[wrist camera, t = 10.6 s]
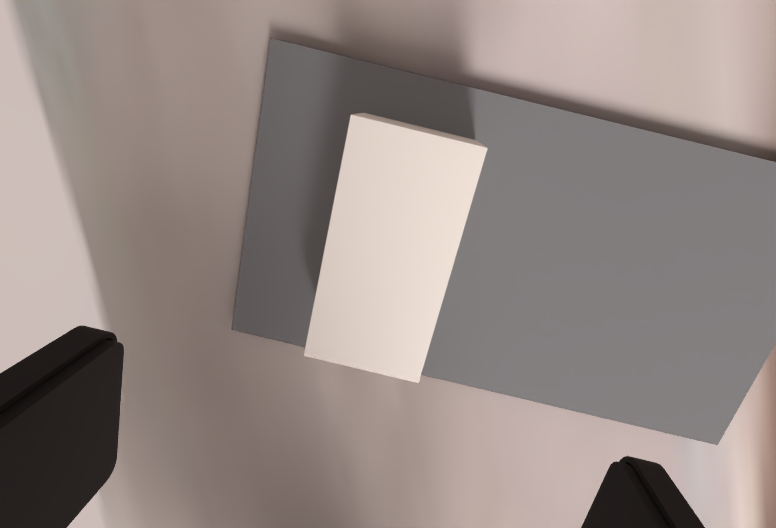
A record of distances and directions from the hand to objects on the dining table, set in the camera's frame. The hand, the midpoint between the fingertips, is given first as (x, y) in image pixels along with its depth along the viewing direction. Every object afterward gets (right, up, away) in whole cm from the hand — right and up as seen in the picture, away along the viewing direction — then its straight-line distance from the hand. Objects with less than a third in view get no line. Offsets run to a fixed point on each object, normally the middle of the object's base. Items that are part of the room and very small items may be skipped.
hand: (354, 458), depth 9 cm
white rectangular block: (+1, +5, +13) cm, 14 cm away
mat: (+7, +4, +14) cm, 16 cm away
